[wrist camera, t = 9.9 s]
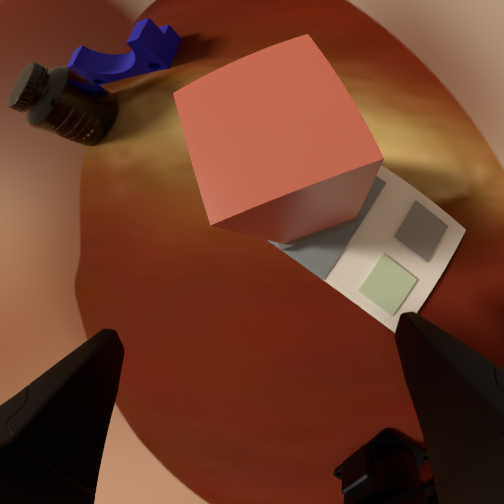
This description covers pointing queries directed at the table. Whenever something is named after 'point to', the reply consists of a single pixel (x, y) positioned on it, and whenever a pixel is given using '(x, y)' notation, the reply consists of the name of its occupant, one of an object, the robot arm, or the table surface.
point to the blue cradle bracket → (129, 55)
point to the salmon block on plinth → (278, 145)
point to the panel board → (386, 250)
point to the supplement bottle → (64, 103)
